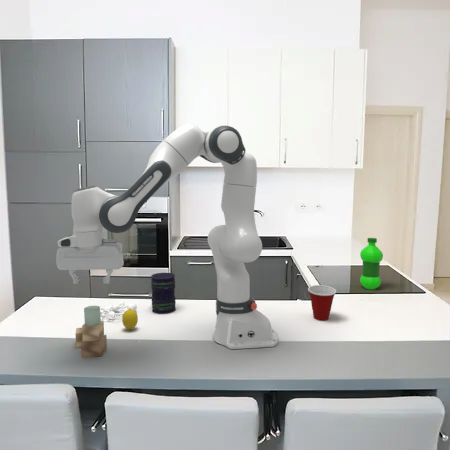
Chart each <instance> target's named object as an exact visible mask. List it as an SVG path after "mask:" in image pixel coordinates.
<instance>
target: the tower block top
mask: <svg viewBox="0 0 450 450" xmlns="http://www.w3.org/2000/svg"><path fill="white" fill-rule="evenodd" d="M104 323H105V321H104V320H101V323H100V324H99V325H96V326H86V325H85V323H84V324H83V325H81V328H82V336H83V341H91V342H99V340H100V339H101V338H102V337H103V336H104V335H105V327H104V326H105V325H104Z"/></svg>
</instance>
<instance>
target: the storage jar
mask: <svg viewBox="0 0 450 450" xmlns="http://www.w3.org/2000/svg"><path fill="white" fill-rule="evenodd" d="M175 276H176V275H175V273H172V272H157V273H153V274H152V275H151V276H150V277H151V278H150V279H151V282H150V285H151V287H150V288H151V293H152V295H151V308H152V311H151V312H152V313H153V314H155V315H168V314H172V313H174V312H175V311H176V296H175V294H176V292H175V289H176V278H175Z"/></svg>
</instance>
